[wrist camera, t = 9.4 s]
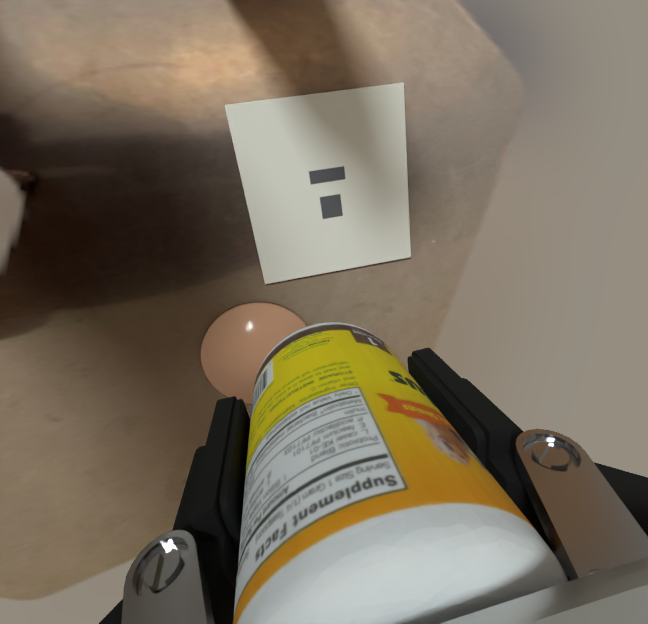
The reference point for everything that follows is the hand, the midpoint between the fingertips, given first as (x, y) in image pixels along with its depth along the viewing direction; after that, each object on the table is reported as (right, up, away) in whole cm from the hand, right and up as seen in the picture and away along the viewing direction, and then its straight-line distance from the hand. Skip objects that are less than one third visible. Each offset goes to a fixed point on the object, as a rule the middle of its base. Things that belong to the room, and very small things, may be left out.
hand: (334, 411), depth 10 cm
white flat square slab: (0, +14, +16) cm, 21 cm away
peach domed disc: (-7, -1, +20) cm, 21 cm away
